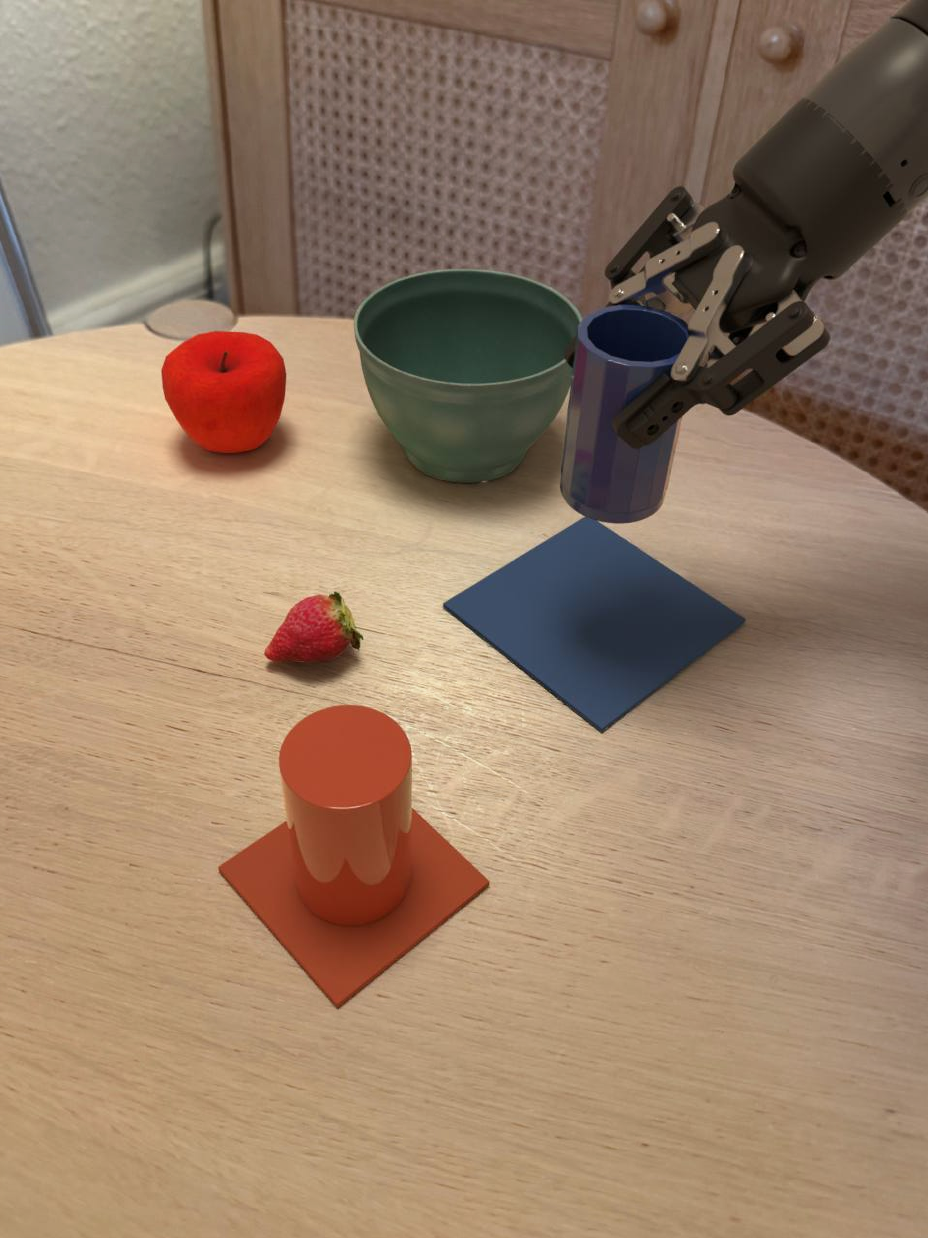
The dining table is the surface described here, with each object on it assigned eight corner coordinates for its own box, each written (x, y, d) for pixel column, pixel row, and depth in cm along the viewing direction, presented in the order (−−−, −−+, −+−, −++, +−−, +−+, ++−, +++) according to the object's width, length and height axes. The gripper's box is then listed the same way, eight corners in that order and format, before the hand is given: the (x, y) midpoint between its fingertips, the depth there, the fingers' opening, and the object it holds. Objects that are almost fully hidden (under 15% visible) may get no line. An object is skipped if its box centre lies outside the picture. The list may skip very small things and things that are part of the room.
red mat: (489, 885, 56) (490, 881, 56) (337, 1008, 51) (337, 1004, 51) (367, 769, 61) (367, 764, 61) (218, 871, 56) (217, 867, 56)
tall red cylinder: (435, 878, 56) (439, 759, 49) (344, 949, 53) (333, 833, 46) (362, 806, 59) (355, 684, 52) (272, 869, 56) (252, 749, 49)
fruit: (263, 637, 68) (254, 579, 65) (357, 626, 69) (354, 569, 66) (267, 687, 65) (259, 629, 62) (366, 675, 66) (363, 617, 63)
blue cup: (686, 493, 62) (721, 338, 55) (616, 538, 59) (643, 380, 52) (607, 446, 65) (631, 292, 58) (537, 486, 62) (553, 330, 55)
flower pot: (316, 437, 84) (307, 310, 76) (473, 368, 91) (479, 246, 84) (452, 544, 75) (456, 413, 68) (612, 458, 83) (632, 331, 75)
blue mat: (744, 623, 71) (746, 618, 70) (601, 733, 64) (602, 728, 63) (587, 518, 78) (588, 514, 77) (442, 607, 71) (442, 603, 71)
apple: (196, 489, 79) (180, 397, 73) (158, 426, 84) (140, 336, 78) (310, 456, 82) (303, 366, 76) (266, 398, 87) (256, 309, 82)
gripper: (747, 47, 54) (507, 296, 59) (917, 164, 44) (611, 447, 50) (813, 145, 59) (586, 366, 64) (978, 270, 49) (694, 517, 55)
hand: (598, 401), depth 57 cm, fingers closed on blue cup, 6 cm apart
